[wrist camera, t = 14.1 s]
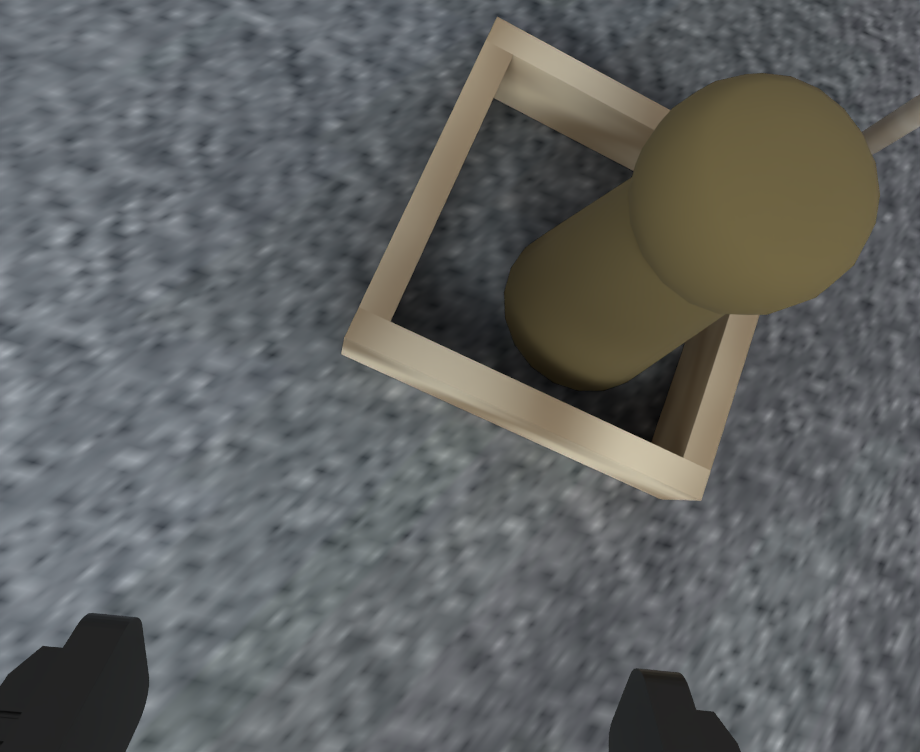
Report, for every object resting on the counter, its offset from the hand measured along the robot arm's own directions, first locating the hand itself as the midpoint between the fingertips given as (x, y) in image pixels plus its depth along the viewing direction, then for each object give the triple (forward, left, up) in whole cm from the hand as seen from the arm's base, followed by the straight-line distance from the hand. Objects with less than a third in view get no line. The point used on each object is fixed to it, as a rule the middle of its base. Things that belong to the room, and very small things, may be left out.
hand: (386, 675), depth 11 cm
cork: (+4, +12, -10) cm, 16 cm away
